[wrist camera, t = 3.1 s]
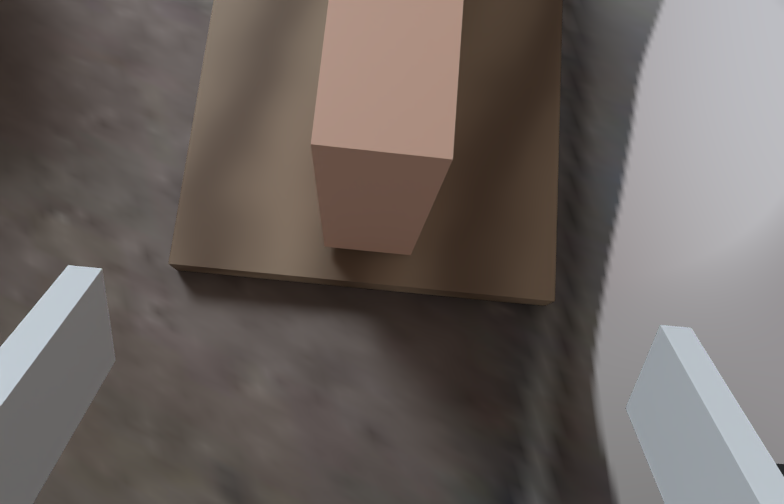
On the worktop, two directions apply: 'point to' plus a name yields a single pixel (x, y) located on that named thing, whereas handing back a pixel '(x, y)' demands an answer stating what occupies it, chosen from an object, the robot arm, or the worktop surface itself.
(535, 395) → the worktop surface
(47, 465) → the robot arm
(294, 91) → the beige and brown block
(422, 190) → the pink beveled block
